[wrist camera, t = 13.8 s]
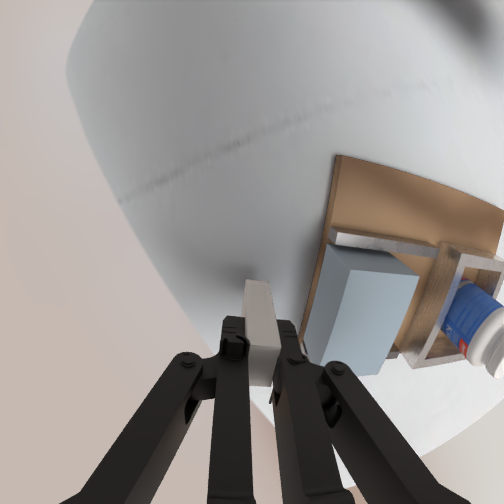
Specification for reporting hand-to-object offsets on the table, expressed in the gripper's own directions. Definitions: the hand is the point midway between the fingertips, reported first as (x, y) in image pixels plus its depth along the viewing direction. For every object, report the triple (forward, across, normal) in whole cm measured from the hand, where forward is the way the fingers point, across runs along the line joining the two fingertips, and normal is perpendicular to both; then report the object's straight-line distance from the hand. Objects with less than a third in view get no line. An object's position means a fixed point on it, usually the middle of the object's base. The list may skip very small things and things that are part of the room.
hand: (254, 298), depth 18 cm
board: (+3, +14, +2) cm, 15 cm away
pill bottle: (+2, +19, 0) cm, 19 cm away
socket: (+1, +19, 0) cm, 19 cm away
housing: (+1, +7, 0) cm, 7 cm away
